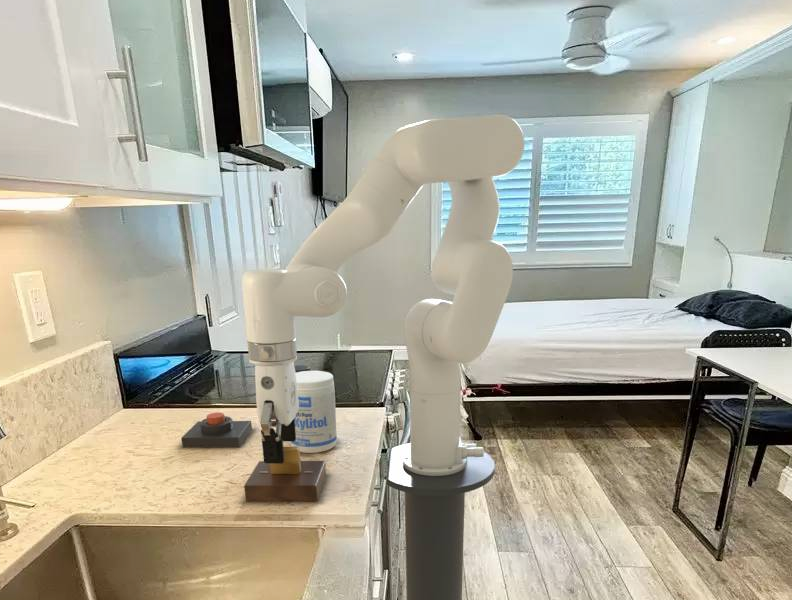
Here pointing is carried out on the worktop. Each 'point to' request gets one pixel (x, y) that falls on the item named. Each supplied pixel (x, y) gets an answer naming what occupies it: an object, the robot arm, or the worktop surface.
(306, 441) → the supplement tub
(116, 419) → the worktop surface
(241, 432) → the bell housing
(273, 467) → the thumb turn
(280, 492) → the plate
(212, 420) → the bell button
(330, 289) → the robot arm
